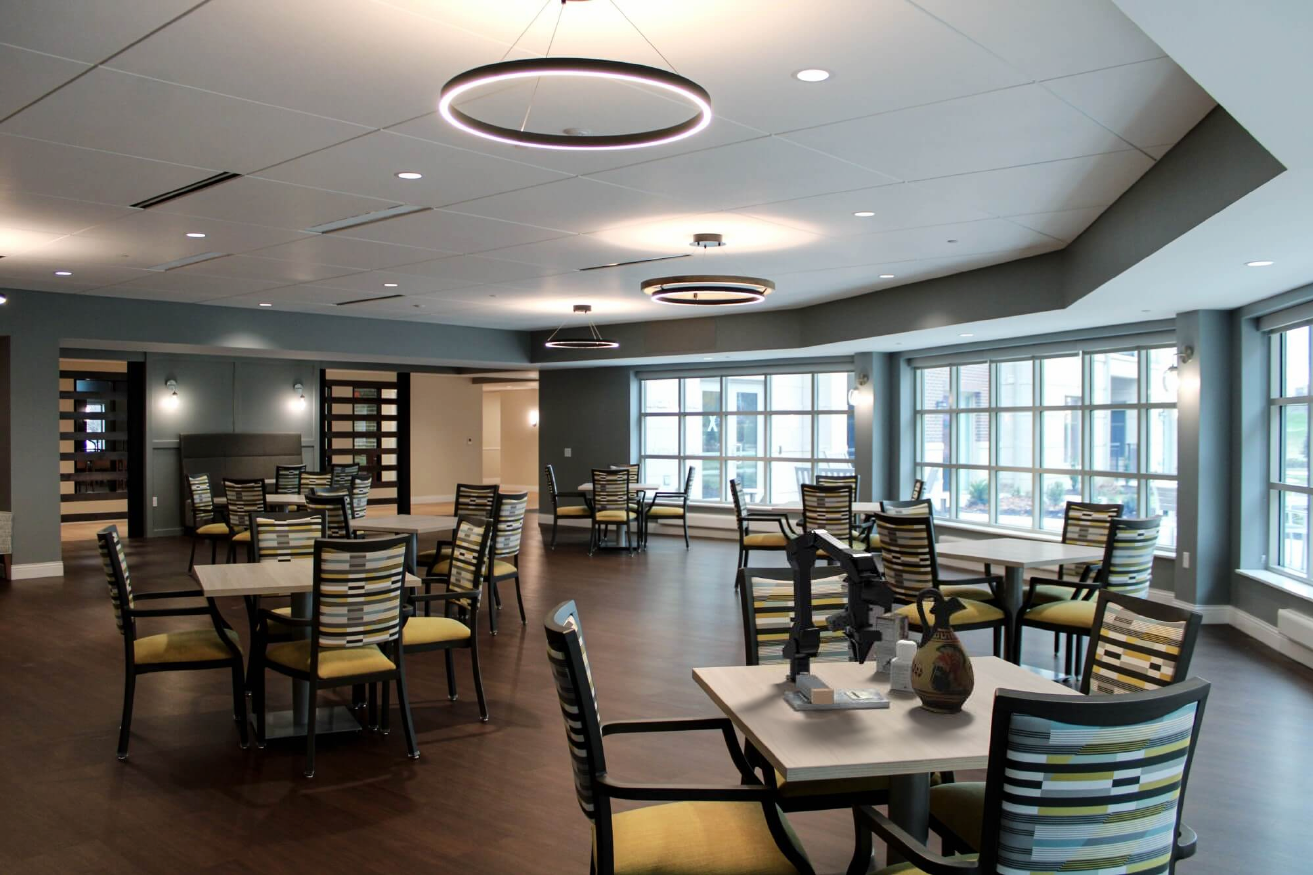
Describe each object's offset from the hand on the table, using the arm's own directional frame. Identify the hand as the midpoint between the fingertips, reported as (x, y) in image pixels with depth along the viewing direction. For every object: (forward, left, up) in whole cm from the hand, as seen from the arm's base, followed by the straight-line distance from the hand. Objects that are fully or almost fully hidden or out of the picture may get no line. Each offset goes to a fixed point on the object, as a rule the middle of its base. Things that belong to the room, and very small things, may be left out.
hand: (858, 662), depth 247 cm
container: (-12, +18, -10) cm, 24 cm away
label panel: (0, -6, -10) cm, 12 cm away
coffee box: (-32, +21, -10) cm, 40 cm away
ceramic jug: (+8, +18, -10) cm, 22 cm away
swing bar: (0, -12, -10) cm, 15 cm away
